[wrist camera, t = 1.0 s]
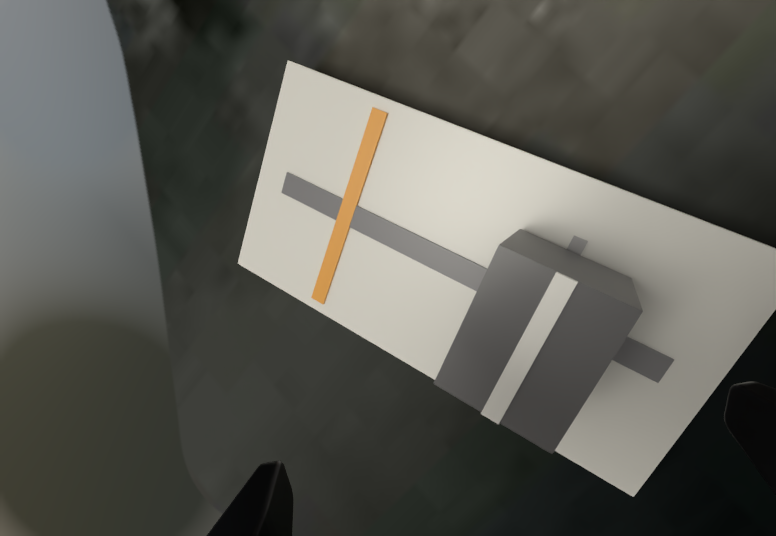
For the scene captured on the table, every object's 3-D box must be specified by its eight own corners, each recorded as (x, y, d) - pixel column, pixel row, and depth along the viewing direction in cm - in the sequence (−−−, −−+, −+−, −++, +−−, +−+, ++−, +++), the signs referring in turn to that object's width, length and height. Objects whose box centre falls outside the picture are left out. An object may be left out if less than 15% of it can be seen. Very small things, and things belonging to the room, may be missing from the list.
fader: (631, 278, 15) (643, 312, 11) (561, 393, 17) (552, 456, 13) (520, 228, 16) (498, 245, 12) (465, 341, 18) (432, 384, 14)
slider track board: (785, 251, 15) (812, 263, 13) (629, 465, 18) (633, 499, 16) (313, 69, 21) (286, 59, 19) (263, 256, 24) (235, 263, 23)
